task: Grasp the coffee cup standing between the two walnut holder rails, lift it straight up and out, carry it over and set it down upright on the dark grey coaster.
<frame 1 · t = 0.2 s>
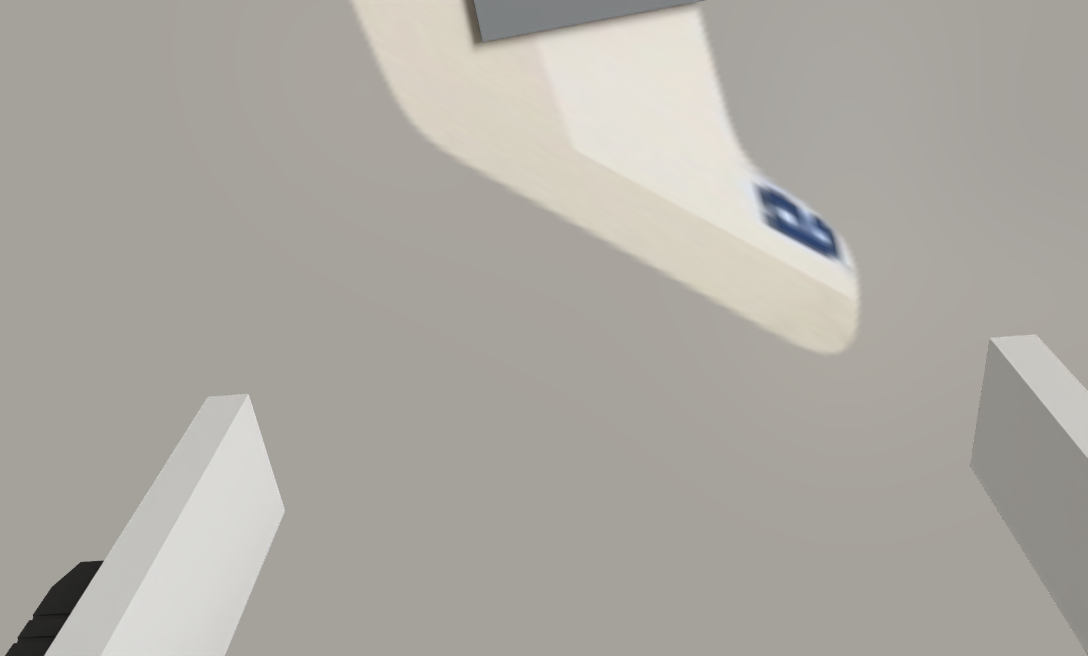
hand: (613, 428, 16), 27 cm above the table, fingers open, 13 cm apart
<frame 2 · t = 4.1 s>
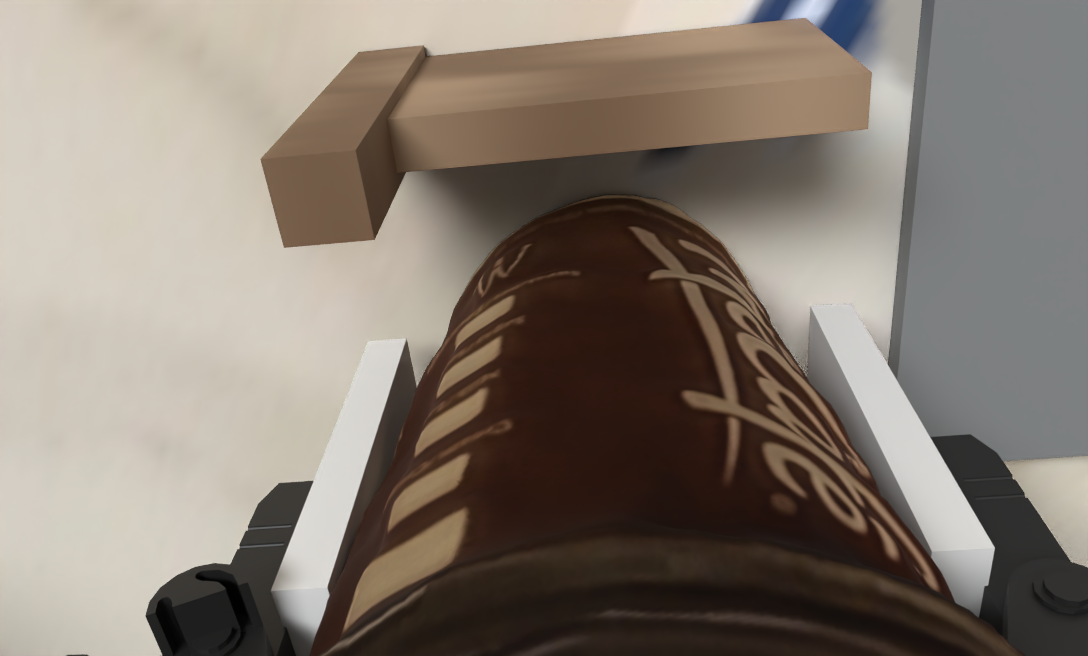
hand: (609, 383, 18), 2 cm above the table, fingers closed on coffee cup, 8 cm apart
cup holder rails: (604, 339, 19), on the table
coffee cup: (604, 334, 19), on the table, touching gripper
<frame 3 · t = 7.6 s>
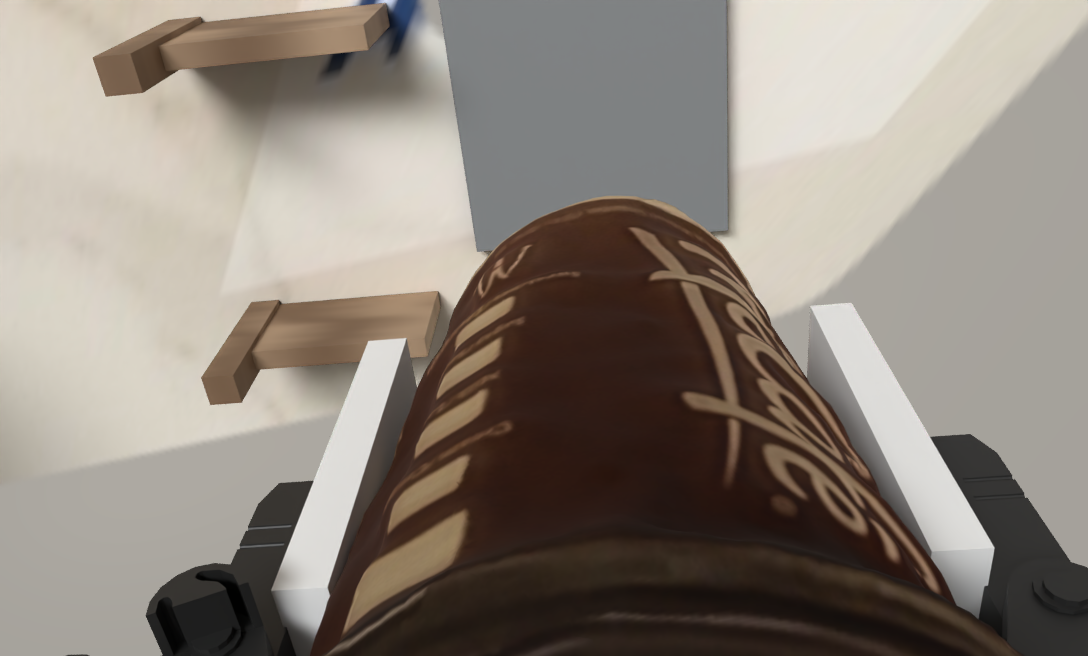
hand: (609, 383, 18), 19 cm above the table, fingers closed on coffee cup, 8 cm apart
cup holder rails: (315, 177, 36), on the table
coaster: (591, 113, 34), on the table
coffee cup: (604, 335, 19), point 17 cm above the table, touching gripper
when the fingers open (4 cm above the table, at t = 11.1 s): coffee cup drops 1 cm, resting on coaster.
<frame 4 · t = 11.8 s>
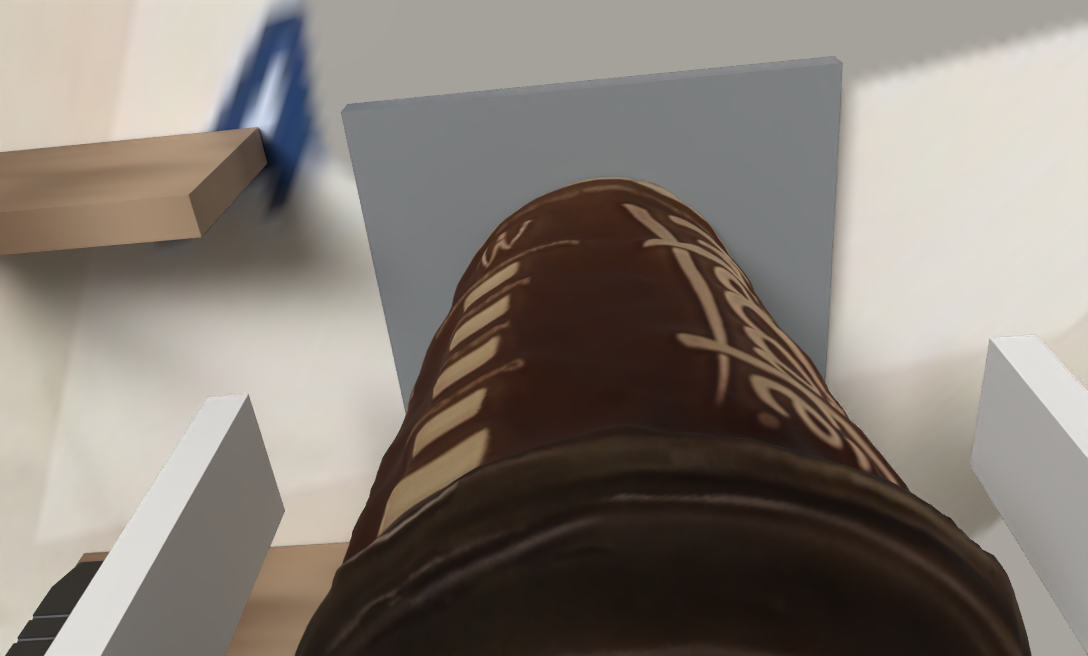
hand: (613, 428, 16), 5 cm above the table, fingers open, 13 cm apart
cup holder rails: (165, 386, 22), on the table
coaster: (603, 297, 21), on the table
coffee cup: (598, 311, 21), resting on coaster
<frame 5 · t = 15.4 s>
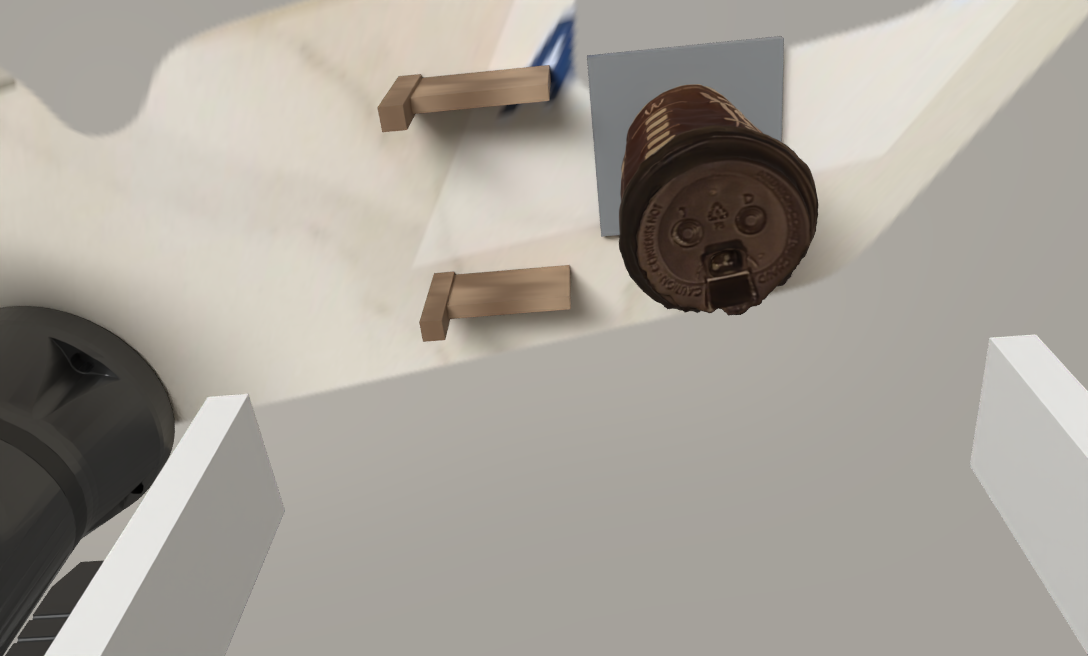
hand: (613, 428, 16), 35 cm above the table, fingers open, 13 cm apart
cup holder rails: (489, 184, 51), on the table
coaster: (686, 139, 49), on the table
coffee cup: (684, 144, 49), resting on coaster
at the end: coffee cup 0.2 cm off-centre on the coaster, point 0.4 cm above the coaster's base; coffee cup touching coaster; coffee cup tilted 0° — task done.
